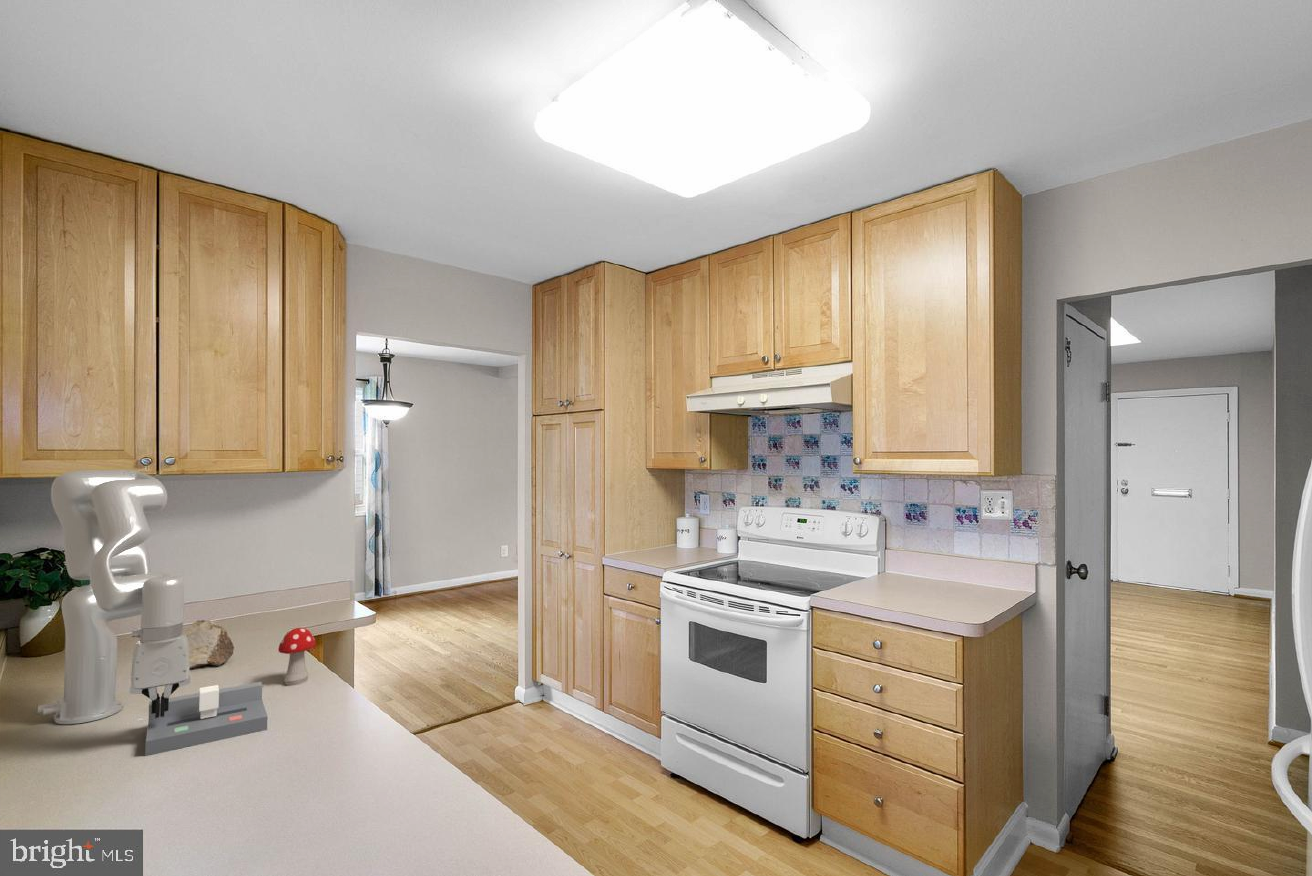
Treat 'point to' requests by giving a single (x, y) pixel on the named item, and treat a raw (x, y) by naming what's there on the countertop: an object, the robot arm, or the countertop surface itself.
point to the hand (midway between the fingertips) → (159, 715)
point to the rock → (208, 644)
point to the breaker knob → (208, 701)
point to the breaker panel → (206, 719)
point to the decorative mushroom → (296, 654)
